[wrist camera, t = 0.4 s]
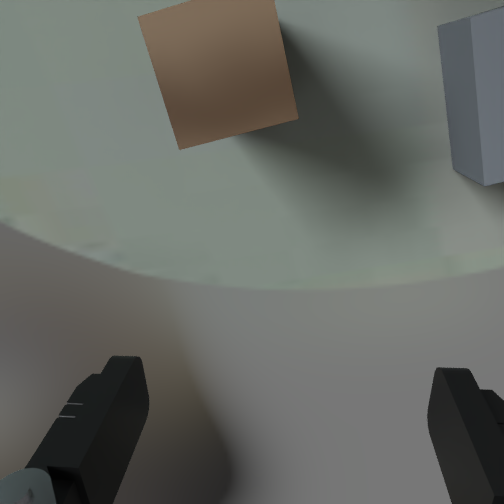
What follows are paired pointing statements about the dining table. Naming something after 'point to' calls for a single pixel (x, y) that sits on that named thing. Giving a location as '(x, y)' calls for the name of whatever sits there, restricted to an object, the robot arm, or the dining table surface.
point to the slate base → (475, 93)
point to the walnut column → (219, 68)
